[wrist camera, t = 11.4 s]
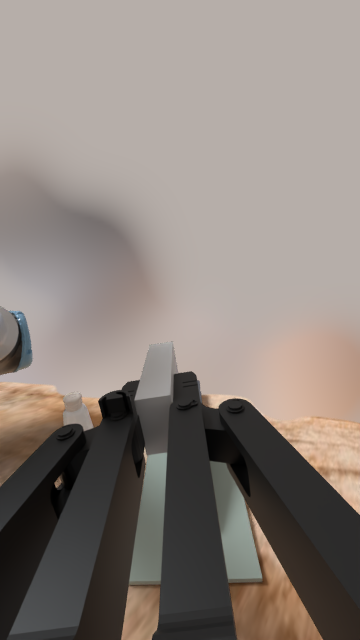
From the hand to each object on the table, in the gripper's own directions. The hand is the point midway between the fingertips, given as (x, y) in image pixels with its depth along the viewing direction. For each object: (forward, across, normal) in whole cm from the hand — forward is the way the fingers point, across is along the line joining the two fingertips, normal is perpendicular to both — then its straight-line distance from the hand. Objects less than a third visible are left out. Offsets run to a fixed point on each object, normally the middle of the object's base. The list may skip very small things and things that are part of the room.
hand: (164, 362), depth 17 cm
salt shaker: (+23, -20, -24) cm, 39 cm away
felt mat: (+18, -1, -26) cm, 32 cm away
